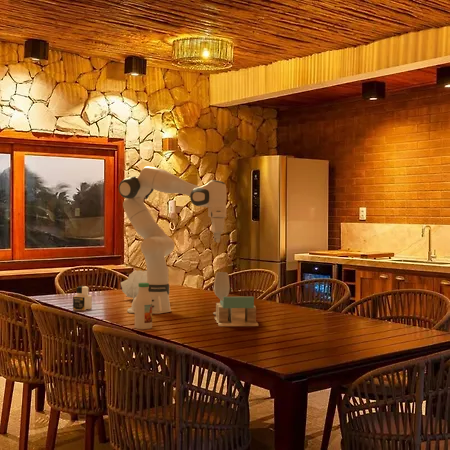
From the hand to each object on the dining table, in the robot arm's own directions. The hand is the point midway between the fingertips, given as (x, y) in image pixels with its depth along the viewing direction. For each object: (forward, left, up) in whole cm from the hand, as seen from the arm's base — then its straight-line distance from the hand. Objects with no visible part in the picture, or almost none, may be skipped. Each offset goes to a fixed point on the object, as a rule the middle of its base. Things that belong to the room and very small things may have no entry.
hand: (216, 242), depth 327 cm
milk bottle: (-35, -26, -37) cm, 57 cm away
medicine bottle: (-67, +33, -37) cm, 83 cm away
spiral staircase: (-35, +65, -37) cm, 83 cm away
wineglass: (+4, +12, -37) cm, 39 cm away
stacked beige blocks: (+8, -13, -37) cm, 40 cm away
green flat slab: (+8, -15, -29) cm, 34 cm away
